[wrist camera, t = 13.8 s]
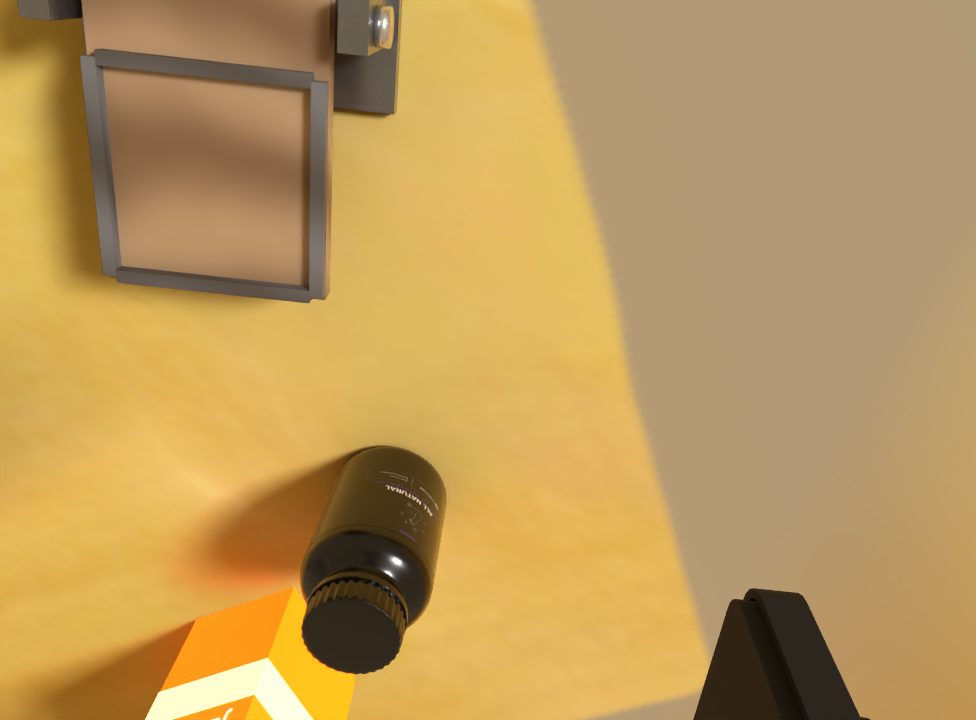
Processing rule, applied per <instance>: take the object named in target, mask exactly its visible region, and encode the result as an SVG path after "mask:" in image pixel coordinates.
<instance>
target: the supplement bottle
mask: <svg viewBox="0 0 976 720" xmlns="http://www.w3.org/2000/svg"><path fill="white" fill-rule="evenodd" d="M445 508H446V491H445V487H444V484H443V481H442V479H441V477H440V475H439V474H438V472H437V471H436V470H435V468H434V467H433V466H432V465H431V464H430V463H429V462H427V461H426V460H425V459H424V458H422V457H421V456H419V455H417V454H415V453H413V452H411V451H408V450H405V449H401V448H396V447H376V448H371V449H368V450H365V451H362V452H360V453H358V454H356V455H355V456H353V457H352V458H350V459H349V460H348V461H347V462H346V463H345V464H344V465H343V466H342V468H341V469H340V471H339V473H338V474H337V476H336V479H335V481H334V483H333V485H332V488H331V490H330V493H329V495H328V498H327V500H326V503H325V505H324V508H323V510H322V513H321V516H320V518H319V521H318V523H317V526H316V528H315V531H314V533H313V536H312V538H311V541H310V543H309V546H308V548H307V551H306V553H305V556H304V559H303V562H302V565H301V570H300V586H301V591H302V594H303V597H304V599H305V601H306V604H307V606H306V612H305V614H304V617H303V623H302V625H301V631H302V634H301V637H302V639H303V640H304V641H303V644H304V645H305V646H306V647H307V651H308V652H309V653H311V654H312V657H313V658H315V659H317V660H318V661H319V663H321V664H324V665H325V666H326V667H328V668H331V669H334V670H335V671H337V672H344V673H346V674H349V673H352V674H360V673H361V674H366V673H369V672H375V671H376V670H378V669H383V668H384V666H386V665H389V664H390V662H391V661H392V660H394V659H395V657H396V654H398V653H399V651H400V647H401V644H402V641H403V636H404V633H405V630H406V629H407V628H408V627H410V626H411V625H412V624H413V623H415V622H416V621H417V620H418V619H419V618H420V616H421V615H422V614H423V612H424V611H425V609H426V608H427V606H428V603H429V601H430V597H431V593H432V589H433V584H434V577H435V571H436V565H437V559H438V553H439V547H440V541H441V534H442V528H443V522H444V516H445Z"/></svg>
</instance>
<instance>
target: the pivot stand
mask: <svg viewBox="0 0 976 720" xmlns="http://www.w3.org/2000/svg"><path fill="white" fill-rule="evenodd" d="M17 2H18V9H19V16H20V17H24V18H33V19H42V20H62V19H73V18H82V27H83V37H84V46H85V55H87V50H86V40H85V30H84V21H83V11H82V1H81V0H17ZM401 10H402V0H335V49H334V98H333V108H342V109H351V110H360V111H369V112H378V113H386V114H395V113H396V107H397V88H398V68H399V49H400V29H401Z"/></svg>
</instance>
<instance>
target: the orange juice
mask: <svg viewBox="0 0 976 720" xmlns="http://www.w3.org/2000/svg"><path fill="white" fill-rule="evenodd" d="M305 612H306V604H305V603H304V601H303V600H302V598H301V597H300V595H299V594H298V593H297V591H296V590H295V588H294V587H292V588H289V589H286V590H283V591H280V592H277V593H274V594H271V595H268V596H265V597H262V598H259V599H256V600H253V601H250V602H247V603H244V604H241V605H238V606H236V607H233V608H230V609H227V610H224V611H221V612H218V613H215V614H212V615H209V616H206V617H203V618H200V619H197V620H196V621H195V623H194V625H193V627H192V629H191V631H190V633H189V635H188V637H187V639H186V641H185V643H184V645H183V647H182V649H181V651H180V653H179V655H178V657H177V659H176V661H175V663H174V665H173V667H172V669H171V671H170V673H169V675H168V677H167V679H166V681H165V683H164V685H163V687H162V689H161V691H160V692H159V693H158V695H157V697H156V699H155V701H154V703H153V705H152V707H151V709H150V711H149V713H148V715H147V717H146V719H145V720H346V719H347V714H348V710H349V706H350V701H351V697H352V693H353V688H354V684H355V680H356V677H355V676H354V674H352V673H349V674H346V673H344V672H337V671H335V670H334V669H331V668H328V667H326V666H325V665H324V664H321V663H319V661H318V660H317V659H315V658H313V657H312V654H311V653H309V652H308V651H307V647H306V646H305V645H304V644H303V641H304V640H303V639H302V637H301V634H302V631H301V625H302V623H303V617H304V614H305Z"/></svg>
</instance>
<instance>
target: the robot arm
mask: <svg viewBox="0 0 976 720" xmlns="http://www.w3.org/2000/svg"><path fill="white" fill-rule="evenodd" d="M693 720H870V719H868V718H863V717H860V716H859V714H858V711H857V709H856V707H855V705H854V703H853V701H852V698H851V696H850V694H849V692H848V690H847V688H846V686H845V683H844V681H843V679H842V677H841V675H840V673H839V671H838V668H837V666H836V664H835V662H834V660H833V658H832V655H831V653H830V651H829V649H828V647H827V645H826V643H825V640H824V638H823V636H822V634H821V632H820V630H819V627H818V625H817V623H816V621H815V619H814V617H813V615H812V612H811V610H810V608H809V606H808V604H807V602H806V600H805V599H804V597H803V596H802V595H800V594H799V593H792V592H782V591H773V590H764V589H755V588H753V589H749V591H748V592H747V593H746V594H745V597H744V599H743V600H739V599H733V600H732V601H731V602H730V604H729V607H728V609H727V612H726V616H725V619H724V622H723V625H722V629H721V632H720V635H719V638H718V642H717V645H716V648H715V651H714V655H713V658H712V661H711V664H710V667H709V671H708V674H707V677H706V680H705V684H704V687H703V690H702V693H701V697H700V700H699V703H698V706H697V710H696V713H695V716H694V719H693Z"/></svg>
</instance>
